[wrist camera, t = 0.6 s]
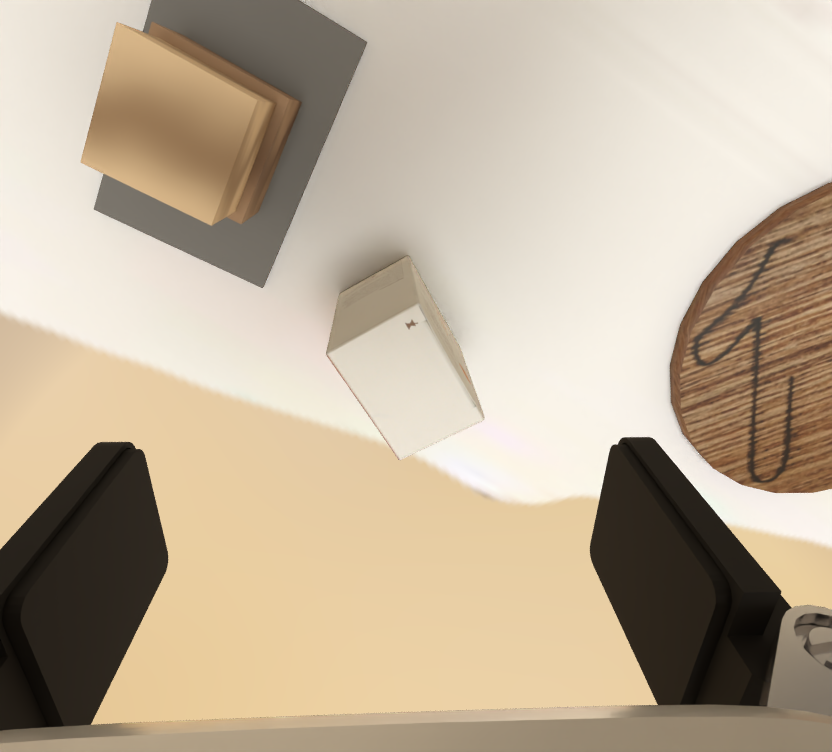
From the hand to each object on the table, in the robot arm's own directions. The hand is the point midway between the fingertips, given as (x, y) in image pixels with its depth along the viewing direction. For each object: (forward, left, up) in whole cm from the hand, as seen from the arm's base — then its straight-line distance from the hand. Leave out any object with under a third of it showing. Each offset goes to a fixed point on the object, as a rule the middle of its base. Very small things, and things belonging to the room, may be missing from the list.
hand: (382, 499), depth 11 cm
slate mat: (-1, -11, -27) cm, 29 cm away
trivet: (-8, +34, -28) cm, 44 cm away
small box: (+5, +4, -27) cm, 28 cm away
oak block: (-1, -11, -22) cm, 25 cm away
